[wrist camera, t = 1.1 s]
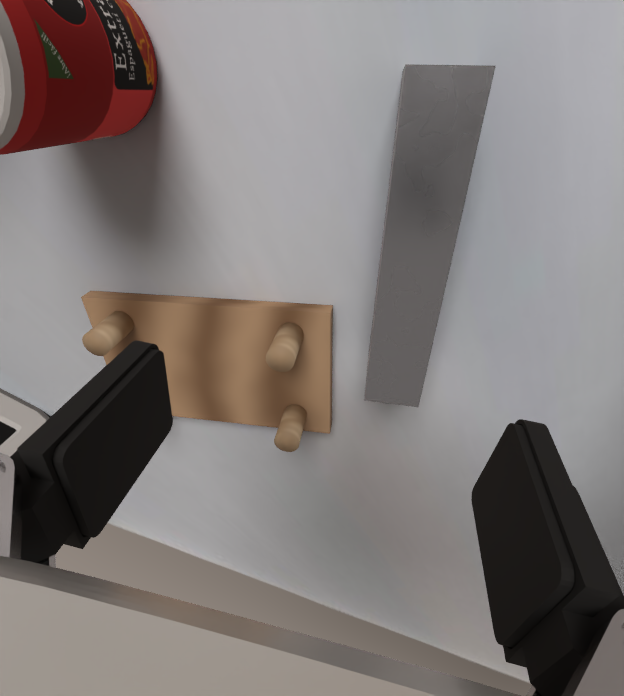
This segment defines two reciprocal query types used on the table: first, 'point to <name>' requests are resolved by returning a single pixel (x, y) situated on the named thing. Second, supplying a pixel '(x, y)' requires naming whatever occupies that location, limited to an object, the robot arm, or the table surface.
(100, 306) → the rack
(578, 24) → the table surface
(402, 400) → the steel bar
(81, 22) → the canned food
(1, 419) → the alarm clock
